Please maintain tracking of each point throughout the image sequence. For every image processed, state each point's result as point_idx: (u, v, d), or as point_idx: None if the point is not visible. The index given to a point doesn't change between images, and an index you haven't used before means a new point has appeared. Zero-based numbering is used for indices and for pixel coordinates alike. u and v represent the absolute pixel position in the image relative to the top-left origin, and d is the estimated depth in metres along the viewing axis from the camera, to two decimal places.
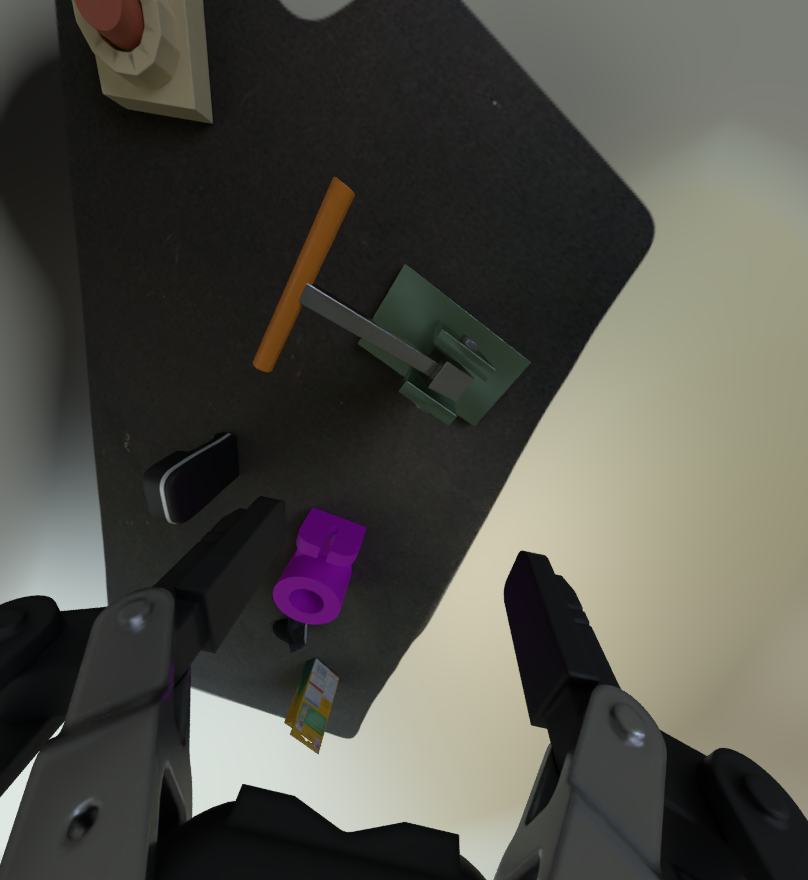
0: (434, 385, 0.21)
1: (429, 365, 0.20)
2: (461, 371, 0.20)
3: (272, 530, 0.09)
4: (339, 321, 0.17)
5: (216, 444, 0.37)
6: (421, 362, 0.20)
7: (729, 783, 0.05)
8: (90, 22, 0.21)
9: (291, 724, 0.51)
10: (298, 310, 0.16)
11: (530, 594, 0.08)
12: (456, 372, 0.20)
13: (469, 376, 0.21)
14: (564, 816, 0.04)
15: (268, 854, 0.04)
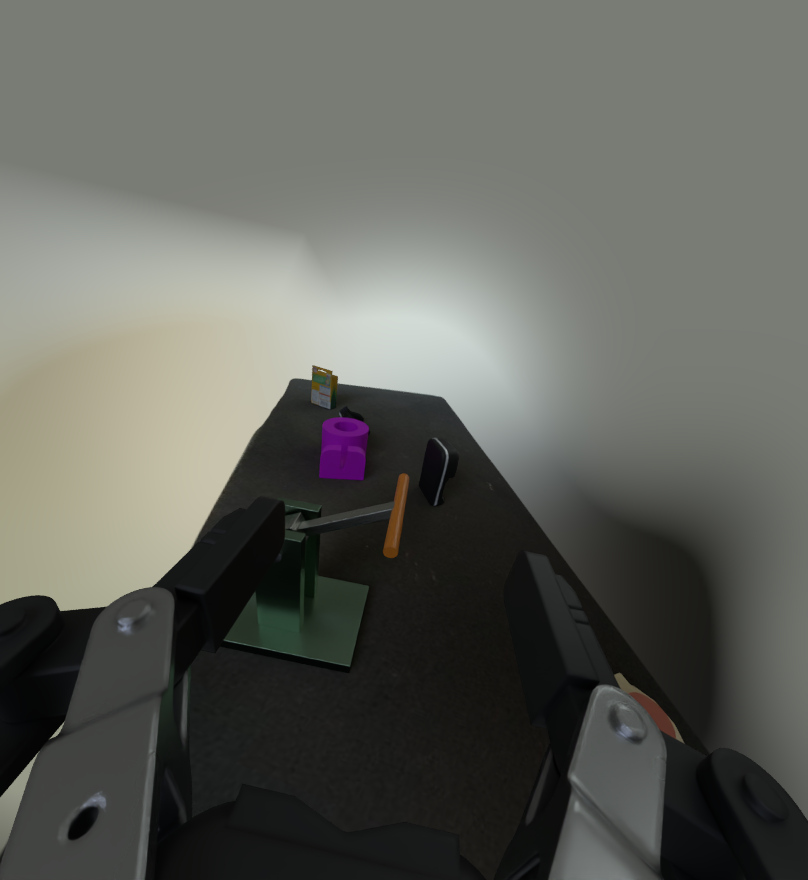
0: (296, 515, 0.28)
1: (304, 525, 0.27)
2: None
3: (272, 530, 0.09)
4: (370, 507, 0.26)
5: (437, 491, 0.54)
6: (310, 523, 0.27)
7: (729, 783, 0.05)
8: (638, 693, 0.27)
9: (333, 375, 0.87)
10: (394, 500, 0.27)
11: (530, 594, 0.08)
12: None
13: None
14: (564, 816, 0.04)
15: (268, 854, 0.04)
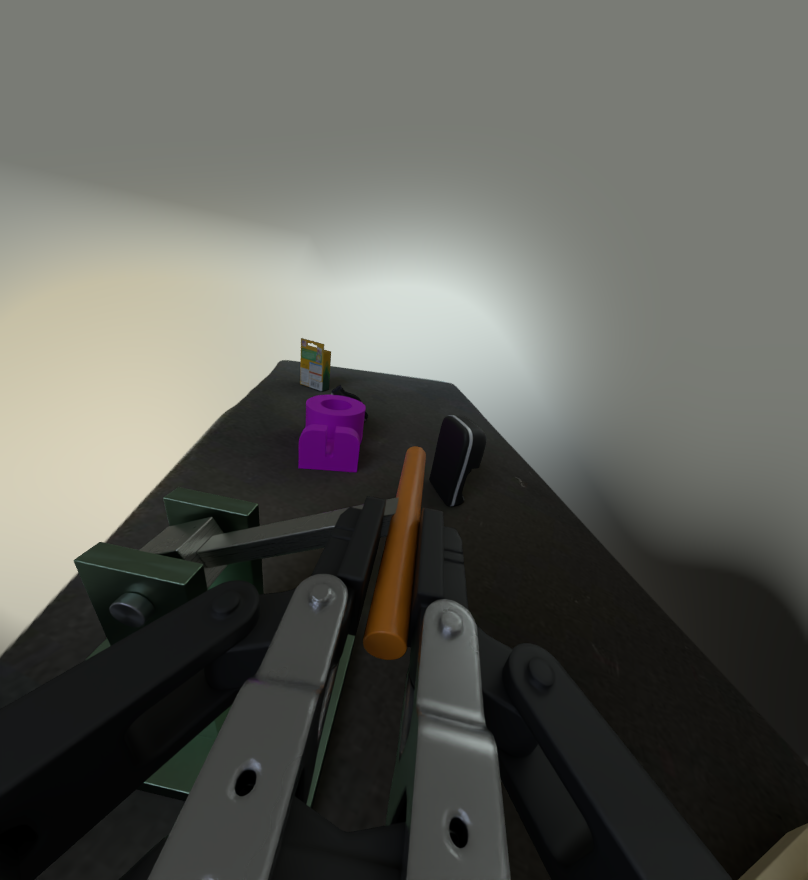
0: (202, 522, 0.14)
1: (211, 543, 0.13)
2: None
3: (380, 527, 0.10)
4: (345, 510, 0.12)
5: (455, 487, 0.39)
6: (224, 539, 0.13)
7: (518, 664, 0.06)
8: None
9: (325, 350, 0.73)
10: (396, 495, 0.12)
11: (419, 540, 0.10)
12: (162, 548, 0.13)
13: None
14: (416, 746, 0.04)
15: None
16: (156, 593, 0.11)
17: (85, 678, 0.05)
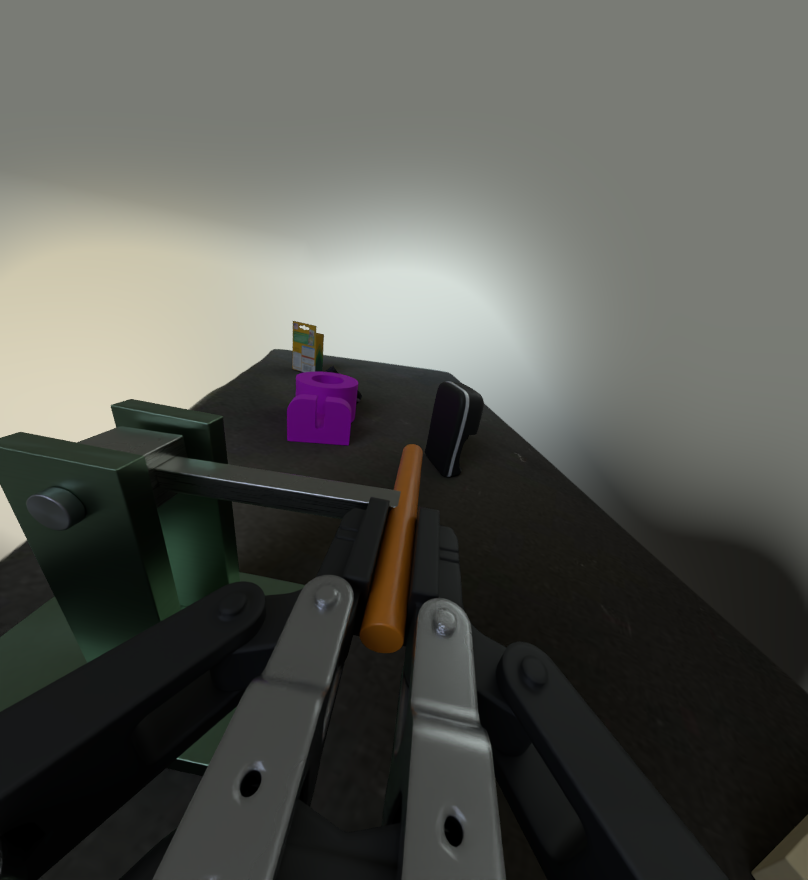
0: (169, 437, 0.12)
1: (175, 465, 0.12)
2: None
3: (384, 527, 0.10)
4: (342, 484, 0.12)
5: (452, 455, 0.37)
6: (193, 466, 0.12)
7: (511, 663, 0.06)
8: None
9: (318, 333, 0.71)
10: (396, 487, 0.12)
11: (415, 539, 0.10)
12: None
13: None
14: (410, 746, 0.04)
15: None
16: (84, 486, 0.09)
17: (93, 677, 0.05)
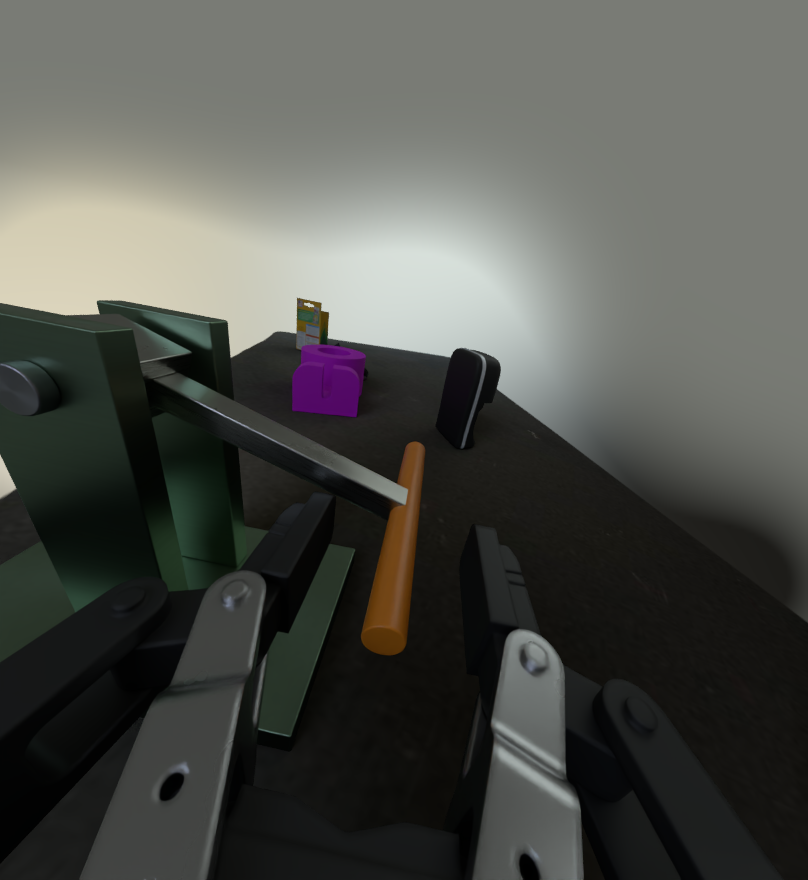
0: (177, 349, 0.11)
1: (177, 383, 0.10)
2: None
3: (327, 523, 0.10)
4: (354, 464, 0.11)
5: (466, 424, 0.35)
6: (198, 391, 0.10)
7: (613, 704, 0.06)
8: None
9: (323, 311, 0.69)
10: (402, 483, 0.12)
11: (475, 560, 0.09)
12: None
13: None
14: (489, 765, 0.04)
15: (267, 854, 0.04)
16: (57, 357, 0.08)
17: None
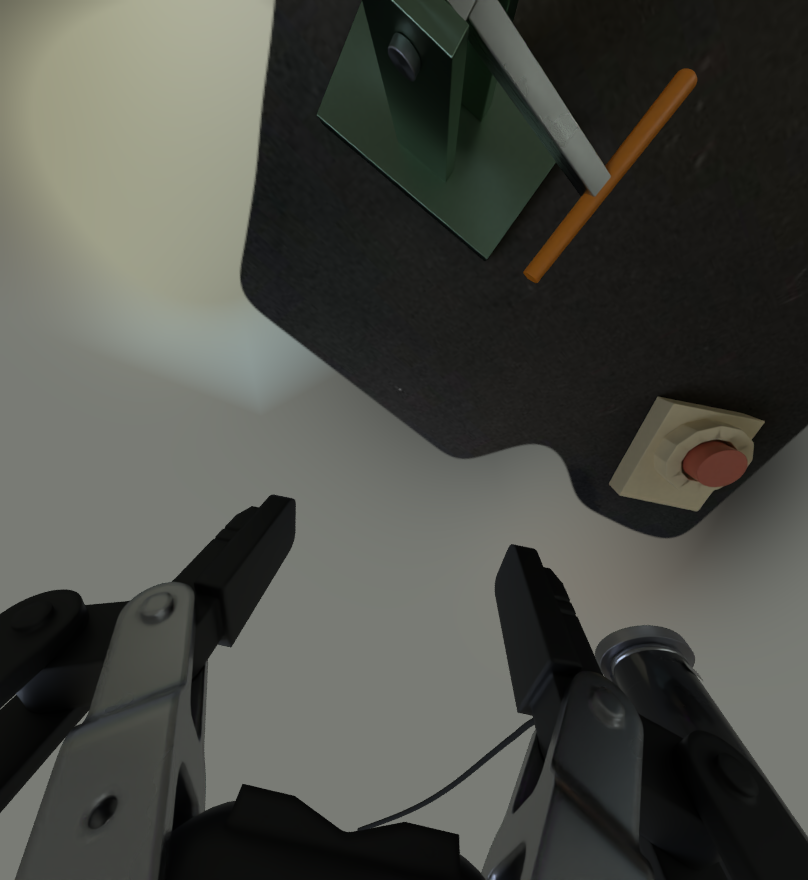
0: None
1: (484, 17, 0.12)
2: None
3: (284, 527, 0.10)
4: (584, 143, 0.14)
5: None
6: (497, 30, 0.12)
7: (702, 762, 0.05)
8: (743, 455, 0.24)
9: None
10: (614, 164, 0.15)
11: (518, 585, 0.09)
12: None
13: None
14: (548, 802, 0.04)
15: (268, 854, 0.04)
16: (425, 50, 0.12)
17: None
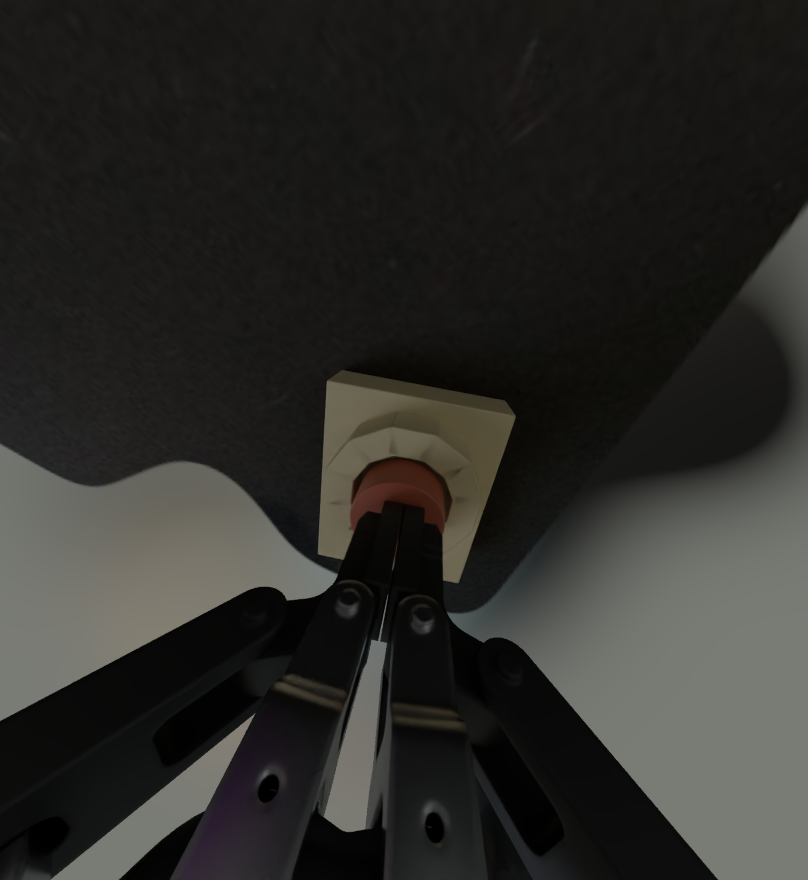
0: None
1: None
2: None
3: None
4: None
5: None
6: None
7: (487, 658, 0.06)
8: (424, 495, 0.11)
9: None
10: None
11: (399, 537, 0.10)
12: None
13: None
14: (390, 747, 0.04)
15: None
16: None
17: (122, 675, 0.05)
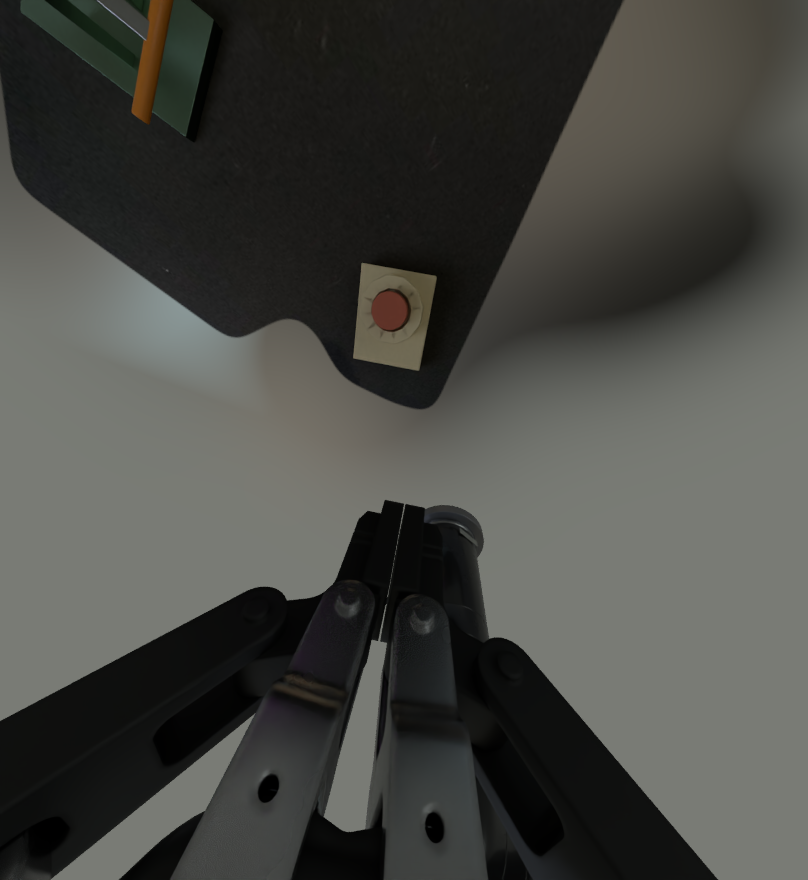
0: None
1: None
2: None
3: None
4: None
5: None
6: None
7: (487, 658, 0.06)
8: (398, 296, 0.29)
9: None
10: (148, 12, 0.21)
11: (399, 537, 0.10)
12: None
13: None
14: (390, 747, 0.04)
15: None
16: None
17: (121, 675, 0.05)
